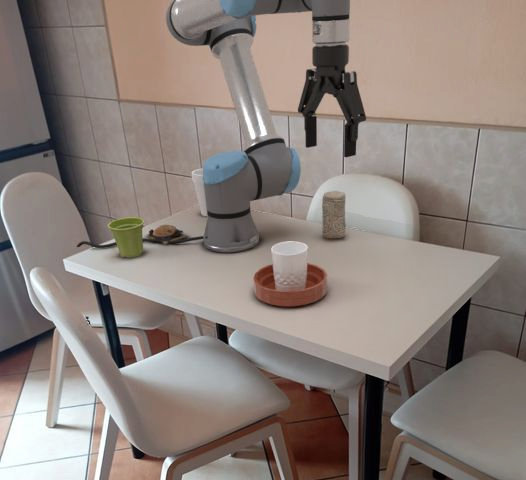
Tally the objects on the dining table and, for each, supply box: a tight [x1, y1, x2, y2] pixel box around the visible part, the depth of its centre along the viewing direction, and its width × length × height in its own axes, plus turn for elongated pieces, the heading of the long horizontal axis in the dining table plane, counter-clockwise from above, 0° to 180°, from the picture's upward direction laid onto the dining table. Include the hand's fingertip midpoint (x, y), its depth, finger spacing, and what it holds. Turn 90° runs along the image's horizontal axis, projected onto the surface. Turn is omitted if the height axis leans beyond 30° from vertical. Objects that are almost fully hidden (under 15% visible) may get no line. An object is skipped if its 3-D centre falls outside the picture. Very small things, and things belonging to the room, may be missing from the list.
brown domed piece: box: [146, 224, 188, 246], centre depth 163 cm, size 11×8×4 cm
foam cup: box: [191, 167, 207, 217], centre depth 178 cm, size 10×9×13 cm
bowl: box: [252, 262, 328, 307], centre depth 128 cm, size 16×16×4 cm
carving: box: [321, 190, 347, 239], centre depth 154 cm, size 6×8×12 cm
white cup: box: [270, 240, 309, 291], centre depth 126 cm, size 8×8×10 cm
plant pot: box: [107, 216, 145, 259], centre depth 152 cm, size 9×9×9 cm
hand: (329, 151), depth 129 cm, fingers open, 13 cm apart
